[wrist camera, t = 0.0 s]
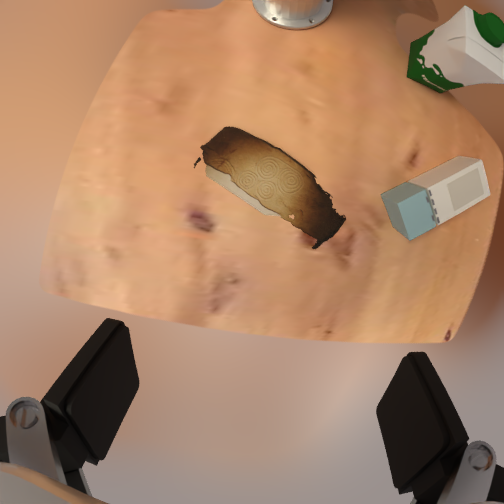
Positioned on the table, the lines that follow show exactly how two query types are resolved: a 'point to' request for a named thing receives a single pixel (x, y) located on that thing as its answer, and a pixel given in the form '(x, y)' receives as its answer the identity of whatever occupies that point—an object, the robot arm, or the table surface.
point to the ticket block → (453, 186)
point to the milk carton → (459, 52)
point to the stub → (409, 210)
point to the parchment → (270, 182)
